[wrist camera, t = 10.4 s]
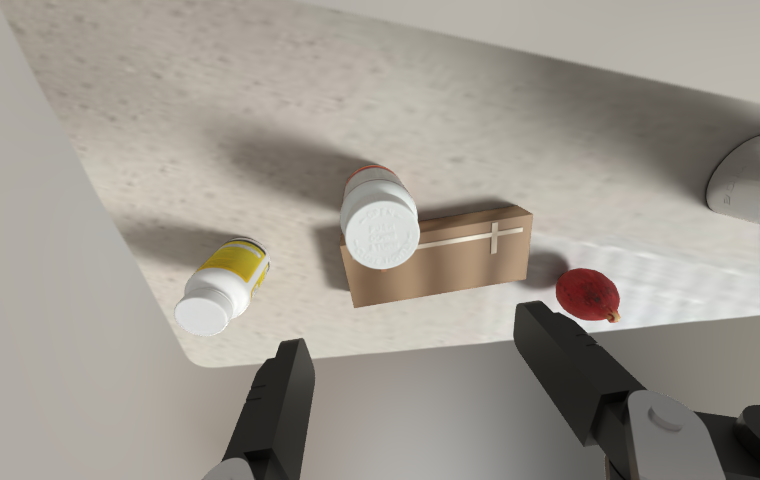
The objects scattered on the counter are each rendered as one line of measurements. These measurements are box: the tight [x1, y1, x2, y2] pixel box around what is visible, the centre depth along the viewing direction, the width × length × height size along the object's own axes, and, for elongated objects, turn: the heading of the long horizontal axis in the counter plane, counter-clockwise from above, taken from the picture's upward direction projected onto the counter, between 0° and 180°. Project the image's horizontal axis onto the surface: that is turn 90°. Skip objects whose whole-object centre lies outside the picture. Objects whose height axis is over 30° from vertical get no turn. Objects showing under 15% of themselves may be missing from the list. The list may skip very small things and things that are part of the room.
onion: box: [556, 268, 620, 323], centre depth 31 cm, size 6×6×8 cm
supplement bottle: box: [174, 238, 270, 336], centre depth 26 cm, size 5×5×10 cm
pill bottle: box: [340, 165, 420, 269], centre depth 23 cm, size 6×6×11 cm
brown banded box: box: [340, 205, 533, 308], centre depth 30 cm, size 20×8×3 cm, turn 98°
